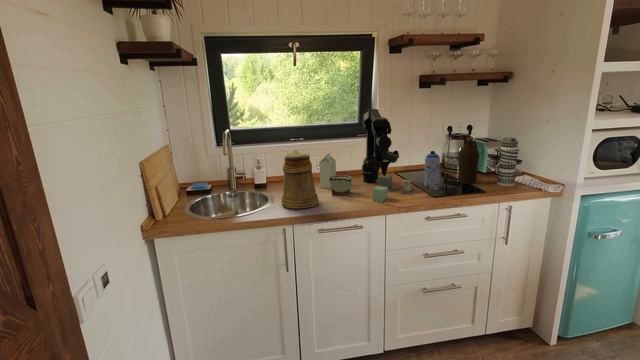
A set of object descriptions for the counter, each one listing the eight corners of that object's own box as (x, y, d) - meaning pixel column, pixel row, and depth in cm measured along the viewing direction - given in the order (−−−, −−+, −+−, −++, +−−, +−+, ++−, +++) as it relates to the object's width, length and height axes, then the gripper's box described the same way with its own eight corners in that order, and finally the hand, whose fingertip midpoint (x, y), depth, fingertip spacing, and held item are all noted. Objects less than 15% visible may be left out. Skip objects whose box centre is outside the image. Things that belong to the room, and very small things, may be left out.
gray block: (377, 188, 185) (377, 176, 183) (382, 186, 189) (382, 174, 187) (387, 190, 182) (387, 177, 180) (391, 187, 186) (392, 175, 184)
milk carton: (320, 187, 197) (319, 154, 192) (325, 184, 203) (323, 152, 198) (332, 188, 194) (331, 155, 189) (336, 185, 200) (335, 152, 196)
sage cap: (372, 201, 169) (372, 188, 167) (377, 198, 173) (377, 186, 172) (383, 203, 166) (383, 190, 164) (387, 200, 170) (387, 187, 168)
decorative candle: (510, 187, 182) (515, 139, 176) (493, 184, 189) (497, 138, 183) (518, 183, 188) (523, 137, 181) (500, 180, 195) (504, 136, 188)
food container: (355, 193, 183) (354, 175, 181) (352, 197, 178) (351, 178, 175) (332, 192, 187) (332, 174, 185) (329, 195, 182) (328, 177, 179)
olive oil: (464, 185, 190) (467, 139, 183) (452, 180, 200) (455, 137, 193) (481, 183, 192) (484, 138, 186) (469, 178, 202) (472, 135, 196)
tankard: (283, 211, 160) (279, 158, 154) (279, 197, 183) (275, 150, 176) (322, 207, 164) (319, 155, 157) (313, 193, 186) (310, 147, 180)
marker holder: (371, 192, 184) (371, 179, 182) (380, 186, 193) (380, 174, 192) (411, 198, 172) (412, 184, 170) (419, 191, 181) (420, 178, 179)
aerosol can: (426, 185, 193) (427, 149, 188) (440, 186, 188) (442, 150, 183) (421, 188, 187) (423, 152, 182) (436, 190, 182) (438, 153, 177)
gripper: (388, 150, 151) (388, 184, 155) (404, 143, 166) (403, 175, 170) (365, 148, 157) (365, 181, 161) (382, 142, 172) (382, 173, 176)
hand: (380, 177), depth 167 cm, fingers open, 9 cm apart
